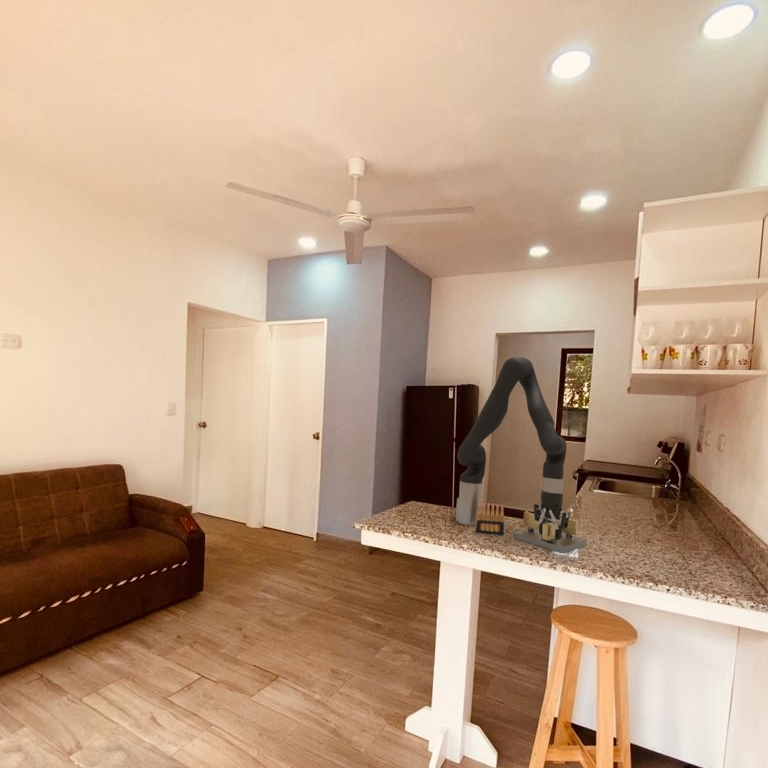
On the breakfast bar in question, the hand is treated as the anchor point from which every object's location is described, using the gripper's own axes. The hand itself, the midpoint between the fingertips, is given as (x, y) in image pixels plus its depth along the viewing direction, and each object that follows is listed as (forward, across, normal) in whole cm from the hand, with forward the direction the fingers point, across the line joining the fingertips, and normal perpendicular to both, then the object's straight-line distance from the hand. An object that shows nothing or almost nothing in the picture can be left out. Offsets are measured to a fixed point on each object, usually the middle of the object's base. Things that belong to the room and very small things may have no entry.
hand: (549, 536), depth 158 cm
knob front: (+2, 0, 0) cm, 2 cm away
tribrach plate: (+4, -5, +6) cm, 9 cm away
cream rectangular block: (+2, -2, +14) cm, 14 cm away
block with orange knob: (+2, -13, +5) cm, 14 cm away
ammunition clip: (+4, -20, -10) cm, 23 cm away
